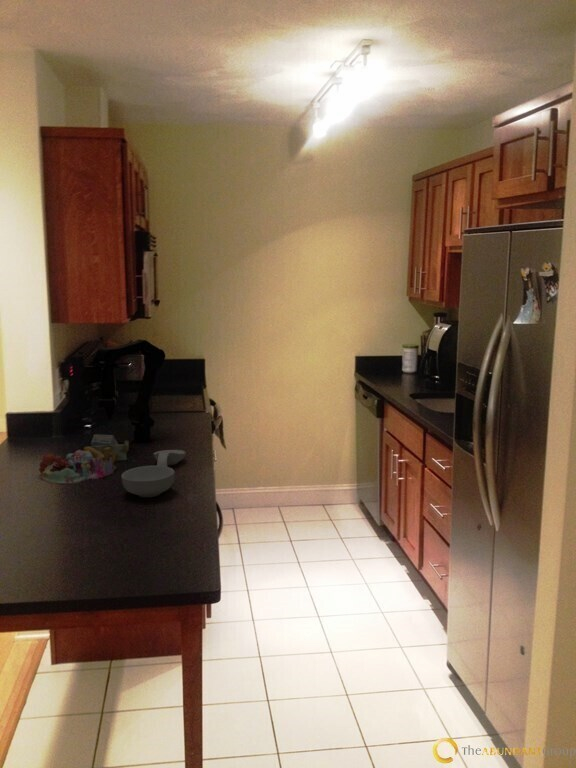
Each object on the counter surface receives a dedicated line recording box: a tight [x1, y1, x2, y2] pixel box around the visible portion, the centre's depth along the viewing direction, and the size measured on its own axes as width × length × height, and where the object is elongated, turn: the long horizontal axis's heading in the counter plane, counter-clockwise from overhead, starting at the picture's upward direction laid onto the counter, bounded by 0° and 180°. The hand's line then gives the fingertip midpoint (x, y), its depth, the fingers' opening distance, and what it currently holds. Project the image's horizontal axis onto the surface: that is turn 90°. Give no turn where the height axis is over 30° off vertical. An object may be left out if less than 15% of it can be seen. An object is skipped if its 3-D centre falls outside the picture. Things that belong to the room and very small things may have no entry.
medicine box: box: [90, 433, 120, 446], centre depth 266 cm, size 8×4×9 cm
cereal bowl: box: [121, 465, 176, 498], centre depth 226 cm, size 17×17×7 cm
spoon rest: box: [153, 449, 186, 467], centre depth 253 cm, size 24×12×7 cm, turn 1°
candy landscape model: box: [38, 445, 118, 485], centre depth 247 cm, size 25×24×9 cm
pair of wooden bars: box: [90, 440, 130, 462], centre depth 269 cm, size 13×18×6 cm
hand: (109, 419), depth 274 cm, fingers closed
